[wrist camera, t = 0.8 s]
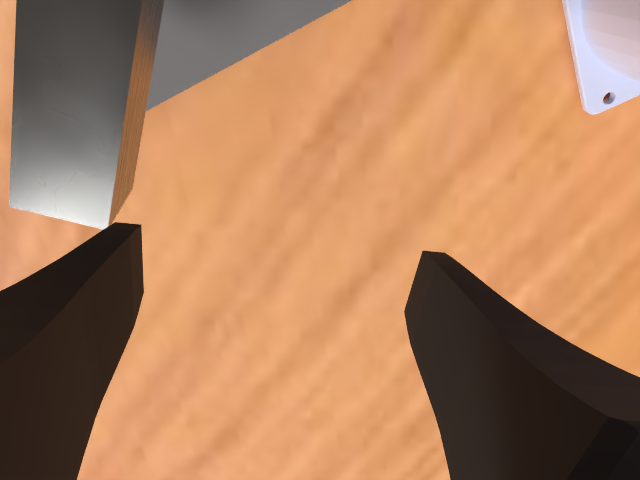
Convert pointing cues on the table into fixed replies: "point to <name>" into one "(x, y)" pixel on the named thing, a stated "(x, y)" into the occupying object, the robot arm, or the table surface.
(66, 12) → the cooker lid
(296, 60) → the table surface
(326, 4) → the charcoal trivet mat
